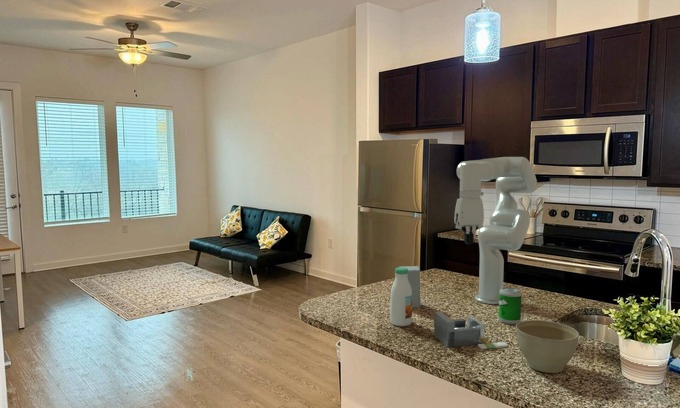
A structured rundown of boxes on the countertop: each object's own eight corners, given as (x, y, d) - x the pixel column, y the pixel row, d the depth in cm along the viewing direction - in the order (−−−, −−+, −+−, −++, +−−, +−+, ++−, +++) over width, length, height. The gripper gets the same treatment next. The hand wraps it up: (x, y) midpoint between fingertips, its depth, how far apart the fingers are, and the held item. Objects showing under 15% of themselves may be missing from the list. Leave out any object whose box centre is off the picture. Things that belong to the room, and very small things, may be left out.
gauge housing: (462, 333, 155) (463, 310, 154) (477, 344, 145) (478, 320, 144) (434, 335, 153) (434, 312, 152) (447, 347, 143) (447, 322, 142)
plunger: (469, 332, 155) (470, 315, 154) (490, 347, 142) (491, 328, 141) (444, 334, 153) (445, 317, 152) (463, 350, 140) (463, 331, 140)
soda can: (520, 319, 169) (521, 287, 167) (521, 326, 161) (522, 293, 160) (498, 317, 171) (499, 285, 170) (498, 323, 164) (499, 291, 163)
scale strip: (503, 343, 146) (503, 341, 146) (508, 346, 143) (508, 344, 143) (477, 346, 144) (477, 344, 144) (481, 349, 142) (481, 347, 142)
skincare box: (419, 303, 188) (419, 265, 186) (420, 309, 181) (421, 269, 179) (398, 302, 188) (398, 265, 187) (399, 308, 181) (399, 269, 180)
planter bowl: (590, 375, 124) (592, 336, 123) (541, 383, 120) (542, 343, 119) (548, 351, 140) (549, 317, 139) (502, 358, 135) (504, 322, 134)
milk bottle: (398, 328, 160) (398, 271, 158) (386, 321, 167) (386, 267, 165) (416, 324, 163) (417, 269, 161) (403, 318, 170) (404, 265, 168)
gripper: (483, 194, 176) (481, 241, 177) (447, 194, 173) (446, 242, 174) (493, 195, 168) (492, 244, 170) (456, 196, 165) (455, 246, 167)
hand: (468, 243), depth 172 cm, fingers closed
